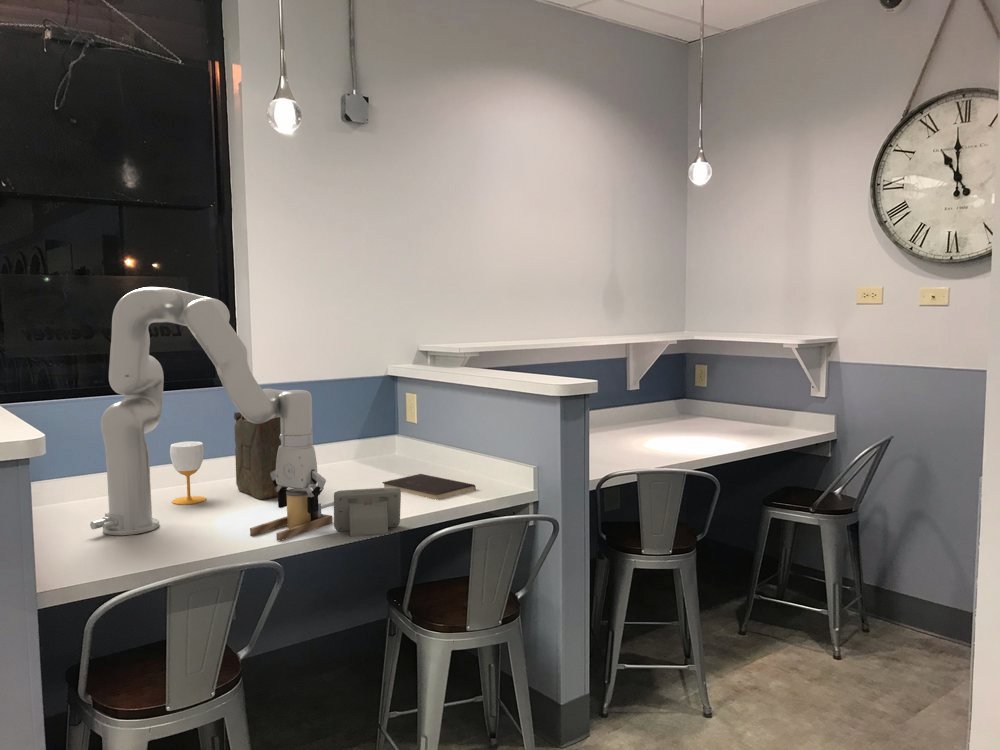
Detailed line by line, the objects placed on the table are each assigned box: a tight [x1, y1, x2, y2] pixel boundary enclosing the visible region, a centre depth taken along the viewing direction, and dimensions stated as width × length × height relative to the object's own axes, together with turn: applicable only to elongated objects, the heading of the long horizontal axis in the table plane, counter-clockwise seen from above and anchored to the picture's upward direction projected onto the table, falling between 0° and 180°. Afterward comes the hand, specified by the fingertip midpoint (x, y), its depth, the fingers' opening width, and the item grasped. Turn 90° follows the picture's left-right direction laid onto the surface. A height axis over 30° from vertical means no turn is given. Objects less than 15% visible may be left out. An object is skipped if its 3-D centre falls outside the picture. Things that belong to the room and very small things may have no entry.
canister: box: [233, 411, 281, 500], centre depth 235 cm, size 19×8×25 cm, turn 41°
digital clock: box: [333, 487, 402, 537], centre depth 196 cm, size 16×9×11 cm, turn 93°
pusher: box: [311, 501, 334, 521], centre depth 208 cm, size 10×7×5 cm
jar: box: [286, 488, 311, 529], centre depth 201 cm, size 6×6×9 cm
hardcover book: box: [381, 473, 476, 500], centre depth 240 cm, size 16×23×2 cm
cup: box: [169, 441, 207, 506], centre depth 227 cm, size 9×9×16 cm
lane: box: [249, 513, 333, 541], centre depth 199 cm, size 18×10×2 cm, turn 150°
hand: (298, 509), depth 201 cm, fingers open, 9 cm apart
